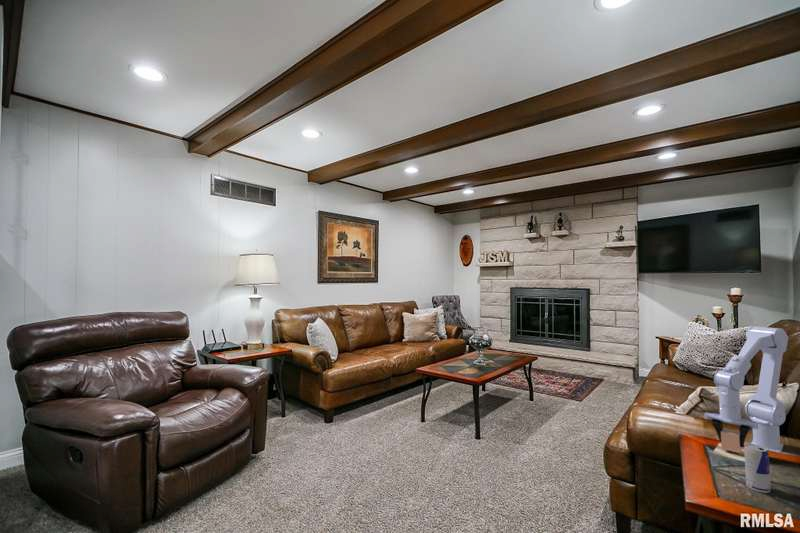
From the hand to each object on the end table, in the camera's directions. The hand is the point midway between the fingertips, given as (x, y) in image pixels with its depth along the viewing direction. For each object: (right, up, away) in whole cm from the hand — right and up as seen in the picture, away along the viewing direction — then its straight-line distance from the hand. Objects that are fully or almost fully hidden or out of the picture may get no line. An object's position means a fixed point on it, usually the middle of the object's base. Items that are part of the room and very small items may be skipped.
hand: (731, 443), depth 136 cm
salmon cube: (0, -2, 0) cm, 2 cm away
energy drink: (-12, -3, -23) cm, 27 cm away
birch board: (0, -3, 0) cm, 3 cm away
